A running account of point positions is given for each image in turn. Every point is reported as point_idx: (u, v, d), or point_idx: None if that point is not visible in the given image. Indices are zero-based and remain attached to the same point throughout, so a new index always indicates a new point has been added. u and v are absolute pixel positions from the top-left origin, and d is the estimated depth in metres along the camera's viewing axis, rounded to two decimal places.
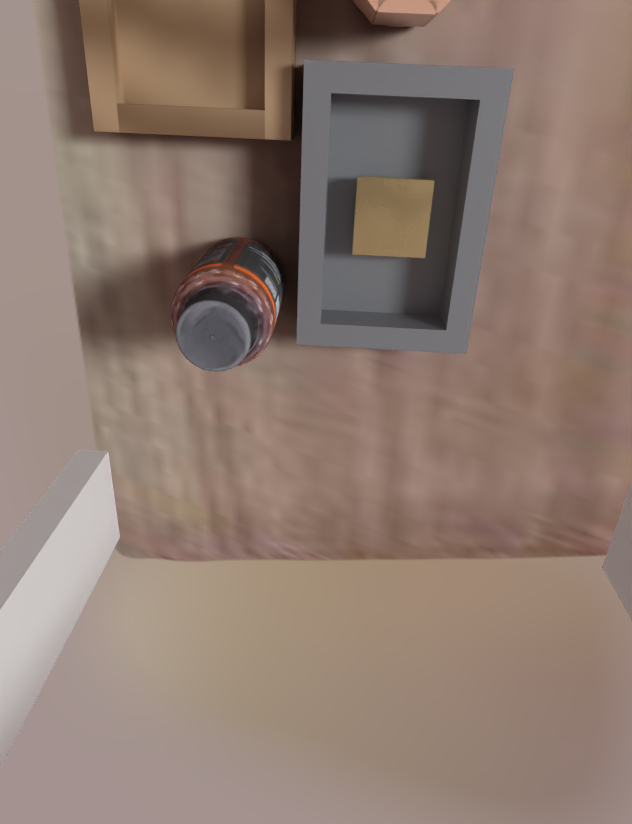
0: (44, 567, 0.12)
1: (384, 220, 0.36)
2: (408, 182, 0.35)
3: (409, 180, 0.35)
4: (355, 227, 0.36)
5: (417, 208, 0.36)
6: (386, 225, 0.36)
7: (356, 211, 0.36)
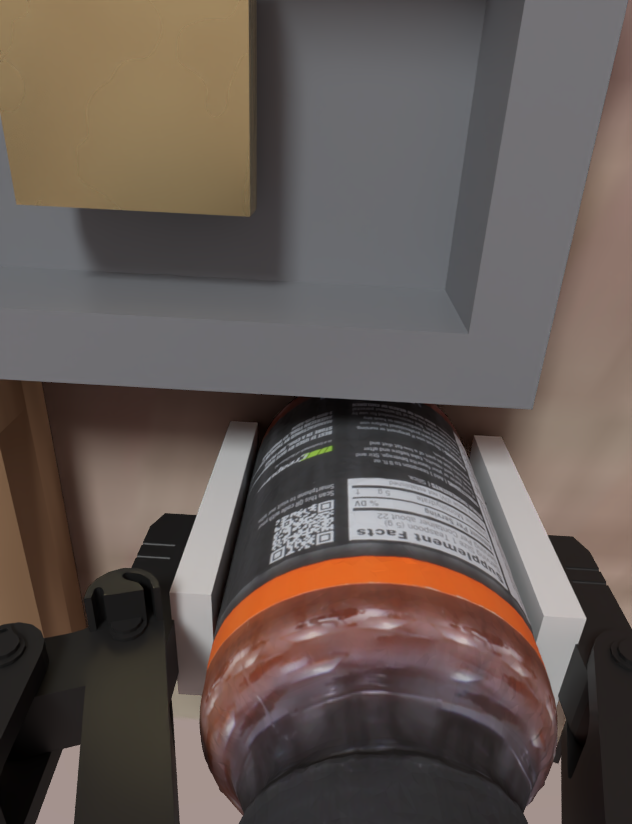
0: (236, 518, 0.13)
1: (130, 104, 0.11)
2: None
3: None
4: (165, 207, 0.11)
5: None
6: (143, 96, 0.11)
7: (116, 205, 0.11)
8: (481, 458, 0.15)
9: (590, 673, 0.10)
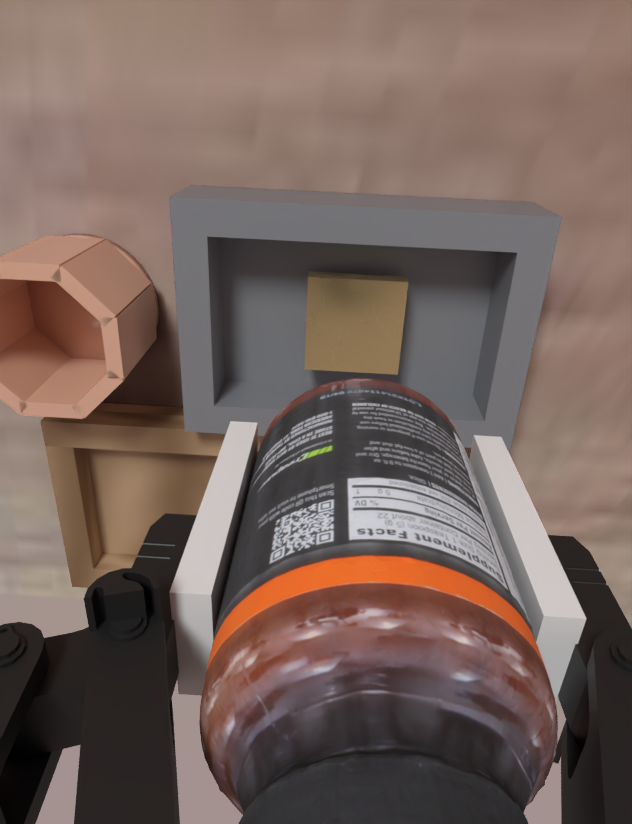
0: (236, 517, 0.13)
1: (356, 336, 0.28)
2: (310, 309, 0.28)
3: (307, 308, 0.28)
4: (364, 371, 0.29)
5: (342, 296, 0.27)
6: (362, 334, 0.28)
7: (344, 370, 0.29)
8: (481, 458, 0.15)
9: (590, 673, 0.10)
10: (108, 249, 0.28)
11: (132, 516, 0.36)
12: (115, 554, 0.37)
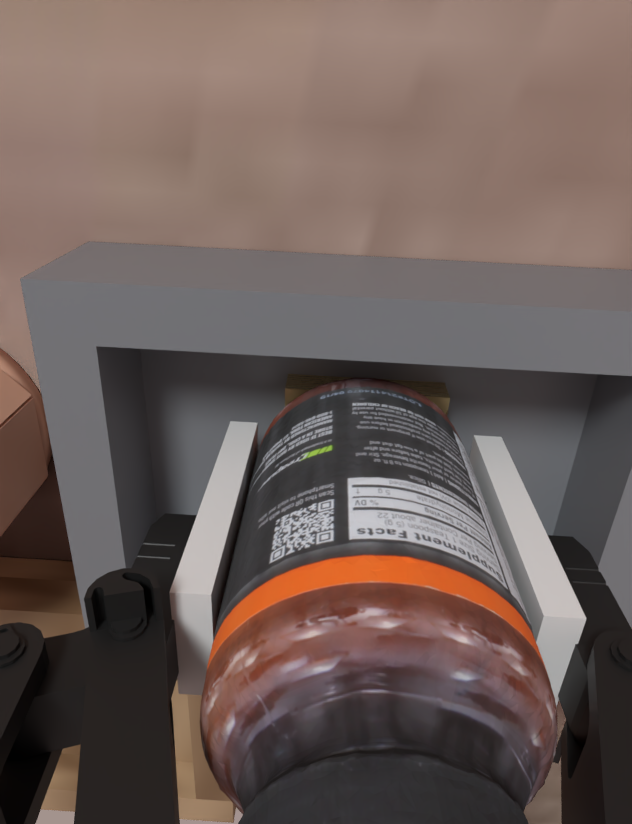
0: (236, 518, 0.13)
1: None
2: None
3: None
4: None
5: None
6: None
7: None
8: (481, 458, 0.15)
9: (590, 673, 0.10)
10: None
11: None
12: None
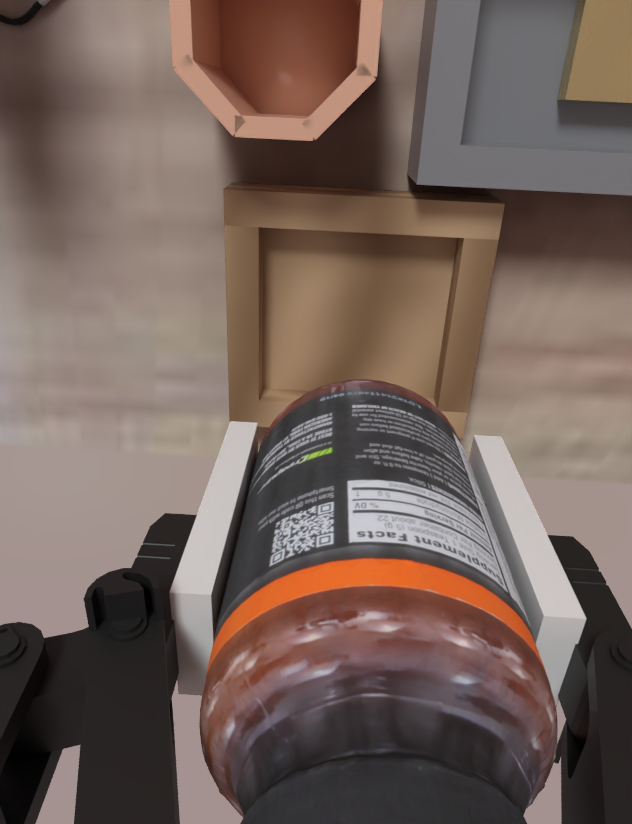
0: (236, 518, 0.13)
1: None
2: (588, 10, 0.23)
3: (585, 8, 0.23)
4: None
5: None
6: None
7: (614, 99, 0.24)
8: (481, 458, 0.15)
9: (590, 673, 0.10)
10: None
11: (305, 337, 0.30)
12: (278, 389, 0.31)
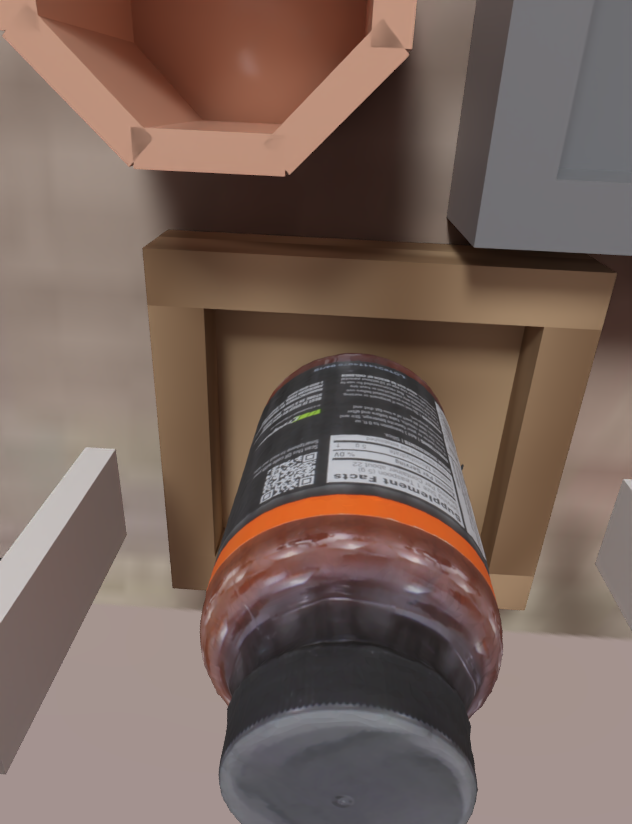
0: (54, 563, 0.12)
1: None
2: None
3: None
4: None
5: None
6: None
7: None
8: None
9: None
10: None
11: None
12: None
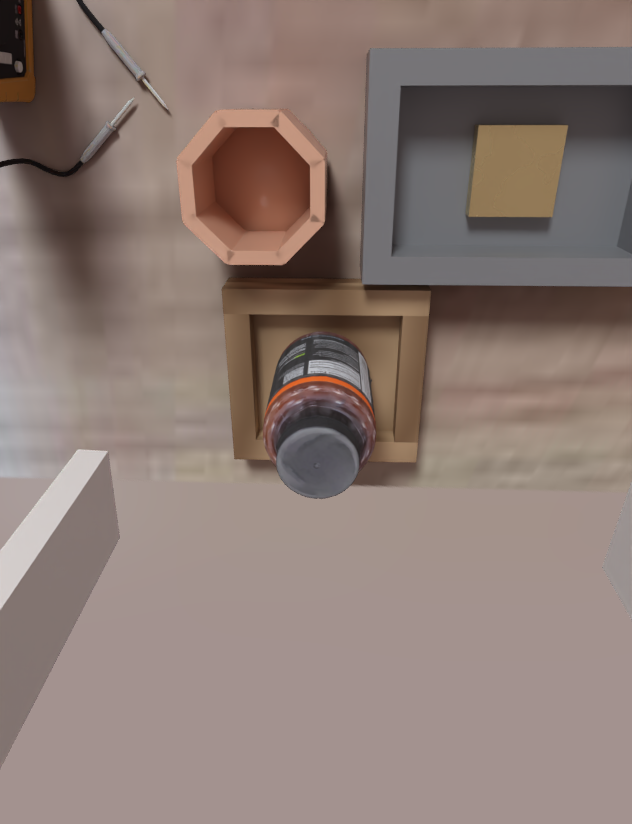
0: (44, 567, 0.12)
1: (518, 181, 0.32)
2: (478, 157, 0.31)
3: (476, 156, 0.31)
4: (522, 215, 0.33)
5: (508, 142, 0.31)
6: (523, 178, 0.32)
7: (504, 215, 0.33)
8: None
9: None
10: (294, 116, 0.31)
11: None
12: None
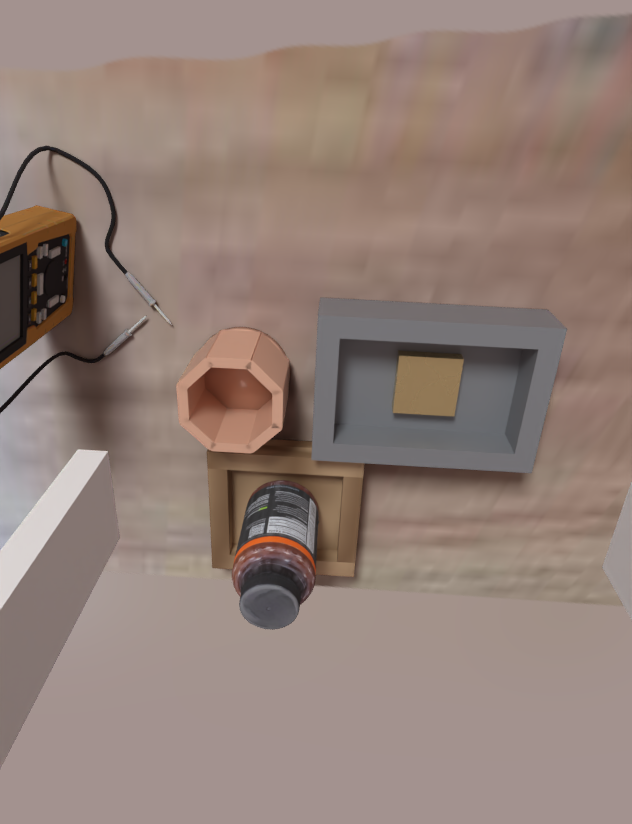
0: (44, 567, 0.12)
1: (428, 392, 0.43)
2: (399, 375, 0.43)
3: (397, 375, 0.43)
4: (432, 414, 0.44)
5: (420, 367, 0.42)
6: (432, 391, 0.43)
7: (419, 413, 0.44)
8: None
9: None
10: (265, 340, 0.42)
11: None
12: None
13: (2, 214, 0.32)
